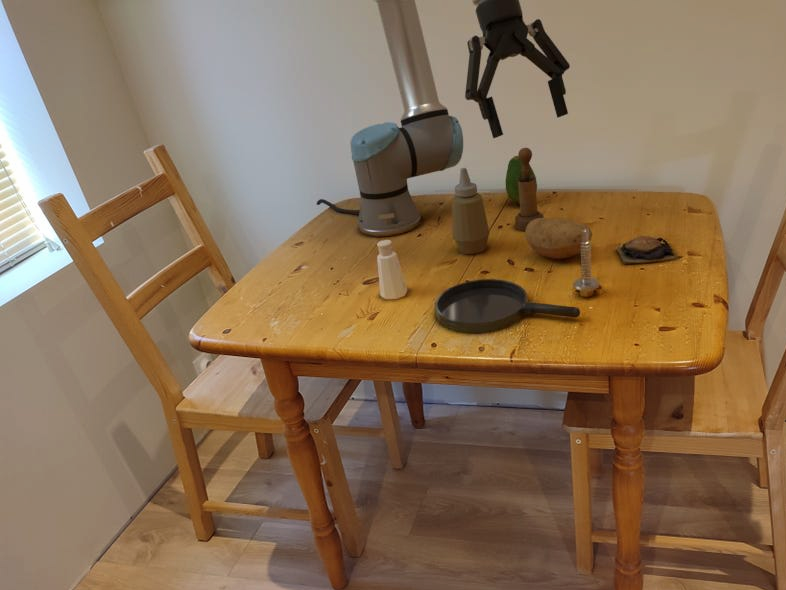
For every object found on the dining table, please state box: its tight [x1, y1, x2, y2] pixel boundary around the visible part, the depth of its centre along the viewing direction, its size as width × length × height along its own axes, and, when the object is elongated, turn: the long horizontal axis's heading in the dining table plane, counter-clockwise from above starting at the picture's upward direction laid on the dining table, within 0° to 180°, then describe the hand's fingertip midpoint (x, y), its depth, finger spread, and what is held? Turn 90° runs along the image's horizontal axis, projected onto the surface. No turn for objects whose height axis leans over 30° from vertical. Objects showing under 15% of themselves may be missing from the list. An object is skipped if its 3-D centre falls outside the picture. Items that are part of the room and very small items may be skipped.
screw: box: [572, 228, 600, 298], centre depth 118 cm, size 13×5×5 cm
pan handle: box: [522, 301, 581, 319], centre depth 115 cm, size 11×2×2 cm, turn 66°
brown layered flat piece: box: [616, 235, 676, 265], centre depth 132 cm, size 11×8×4 cm
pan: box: [434, 278, 529, 334], centre depth 120 cm, size 17×17×2 cm
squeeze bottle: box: [451, 167, 490, 255], centre depth 139 cm, size 8×8×18 cm
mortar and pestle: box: [514, 147, 544, 232], centre depth 148 cm, size 7×6×18 cm
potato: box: [524, 217, 593, 260], centre depth 134 cm, size 10×14×8 cm
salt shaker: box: [376, 239, 408, 300], centre depth 127 cm, size 5×5×11 cm
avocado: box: [505, 155, 538, 205], centre depth 162 cm, size 8×8×12 cm
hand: (531, 126), depth 116 cm, fingers open, 13 cm apart
